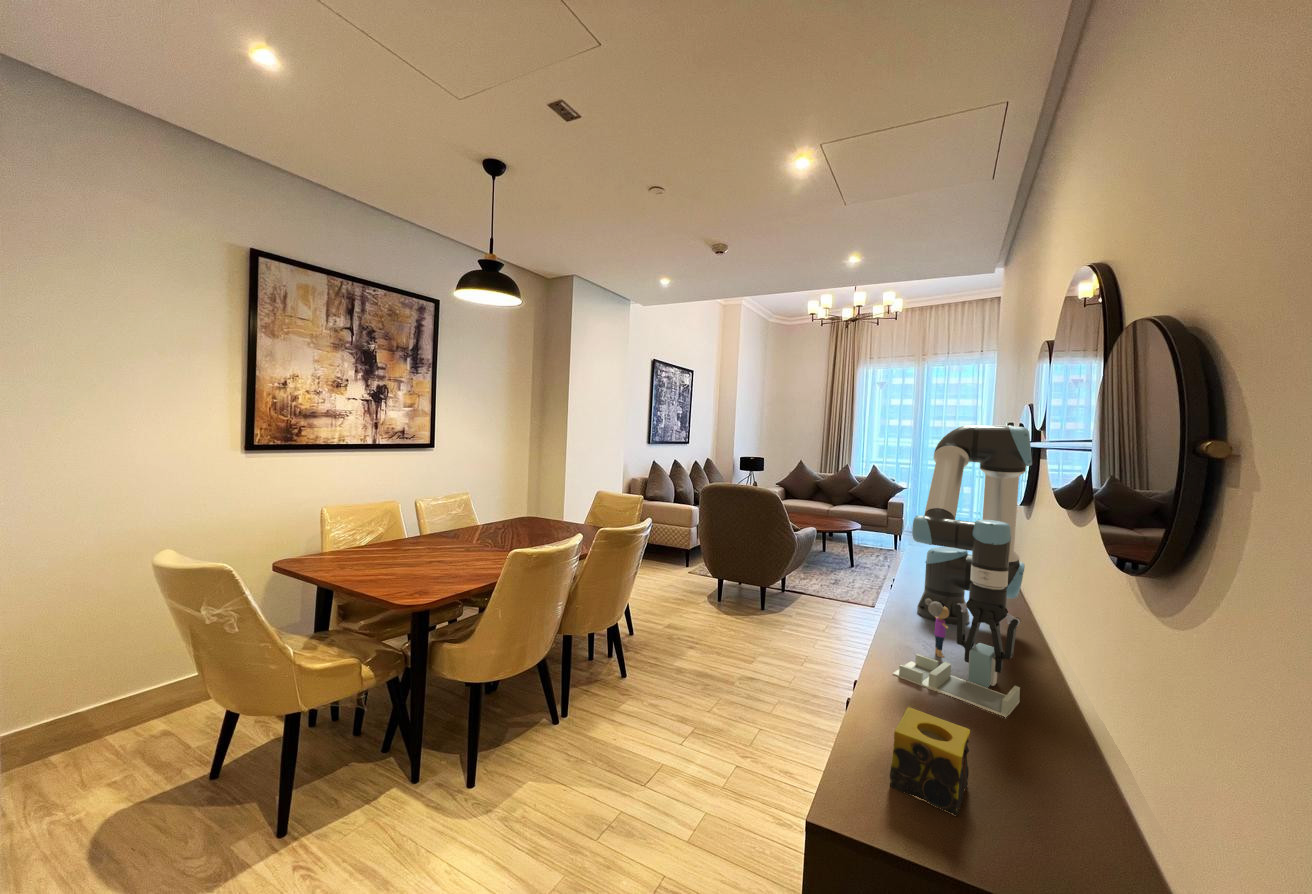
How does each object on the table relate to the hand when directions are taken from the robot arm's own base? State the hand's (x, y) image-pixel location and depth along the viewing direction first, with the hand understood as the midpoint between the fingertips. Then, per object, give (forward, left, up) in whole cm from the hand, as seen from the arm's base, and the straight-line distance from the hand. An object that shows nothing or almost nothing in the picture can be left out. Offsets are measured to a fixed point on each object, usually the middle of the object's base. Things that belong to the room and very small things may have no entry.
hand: (982, 679), depth 122 cm
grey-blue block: (0, 0, 0) cm, 0 cm away
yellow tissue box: (+51, +6, -1) cm, 51 cm away
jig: (+10, -3, -1) cm, 10 cm away
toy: (-7, -13, -1) cm, 15 cm away
